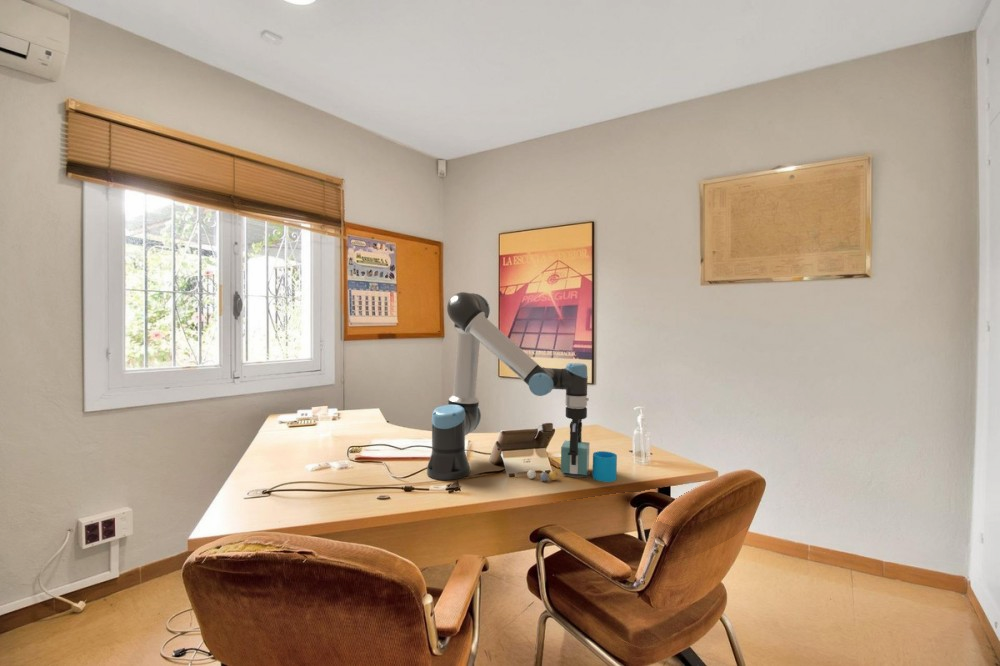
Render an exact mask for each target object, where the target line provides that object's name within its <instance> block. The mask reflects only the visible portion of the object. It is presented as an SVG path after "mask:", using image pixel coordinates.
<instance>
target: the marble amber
mask: <svg viewBox="0 0 1000 666" xmlns="http://www.w3.org/2000/svg"><path fill="white" fill-rule="evenodd" d="M548 476H549V478H548V479H550V480H551V481H555V480H557V479H558V472H556V471H555V470H554V471H553V470H552V471H550V472H549V473H548Z"/></svg>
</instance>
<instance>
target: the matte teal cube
mask: <svg viewBox="0 0 1000 666" xmlns="http://www.w3.org/2000/svg"><path fill="white" fill-rule="evenodd" d="M560 450H561V451H560V473H562V472H563V473H570V455H568V453H569V452H570V440H564V441H563V443H562V445H561V447H560ZM573 452H575V451H573ZM589 469H590V442H588V441H587V442H586V441H582V442H578V474H582V475H587V472H588V471H589Z"/></svg>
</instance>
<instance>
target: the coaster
mask: <svg viewBox="0 0 1000 666" xmlns="http://www.w3.org/2000/svg"><path fill="white" fill-rule="evenodd" d="M561 474H562V475H563V476H566V477H569V478H576V479H577V478H579V479H580V478H581V479H582V478H587V477H589V475H591V472H590V470H588V472H587V475H582V474H572V473H563V472H561Z"/></svg>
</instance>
